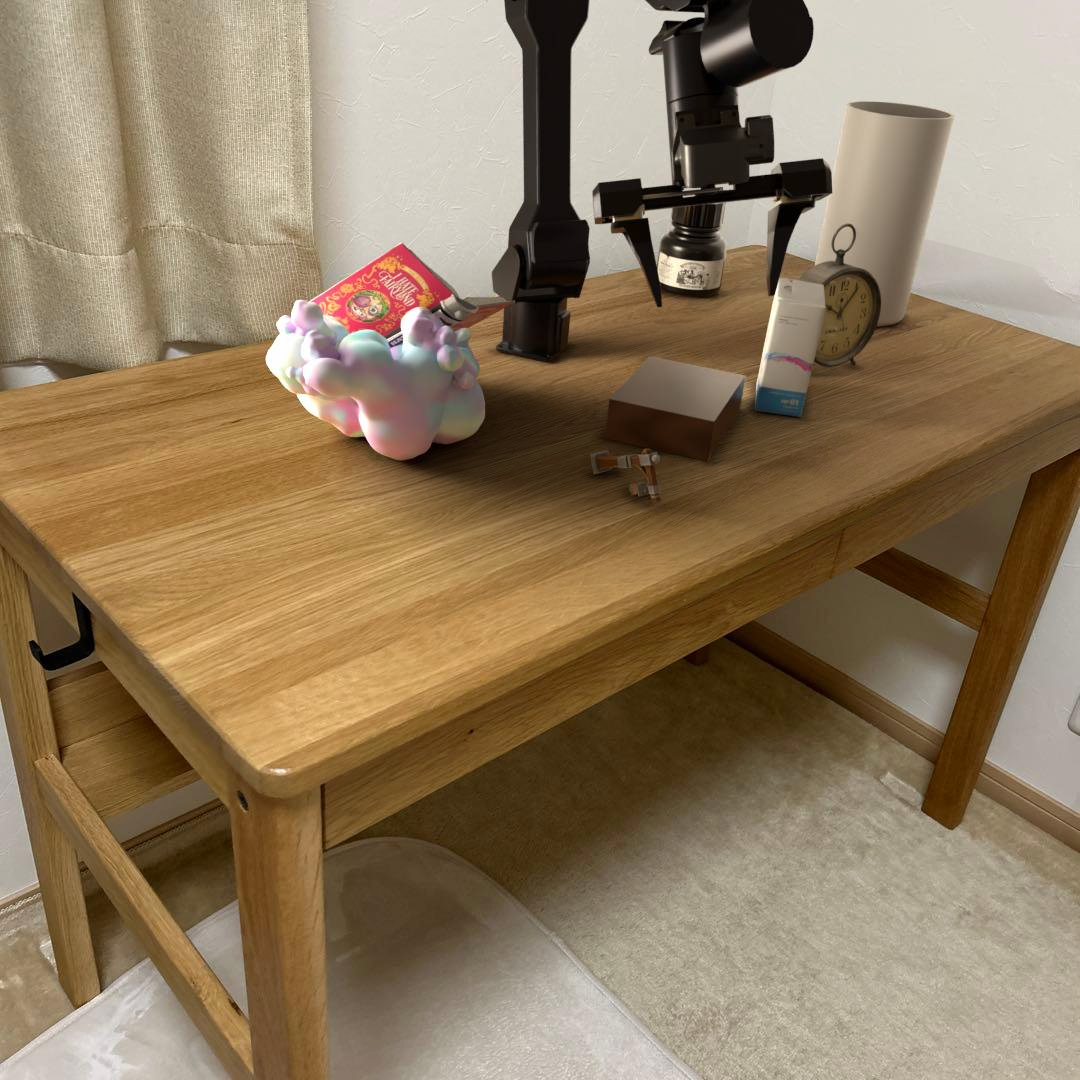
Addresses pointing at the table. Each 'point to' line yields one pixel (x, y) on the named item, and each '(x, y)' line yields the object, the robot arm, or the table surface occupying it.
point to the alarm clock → (844, 307)
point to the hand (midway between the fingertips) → (715, 301)
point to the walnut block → (675, 408)
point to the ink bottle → (693, 251)
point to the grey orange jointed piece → (647, 459)
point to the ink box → (790, 347)
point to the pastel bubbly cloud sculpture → (387, 356)
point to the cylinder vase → (885, 193)
